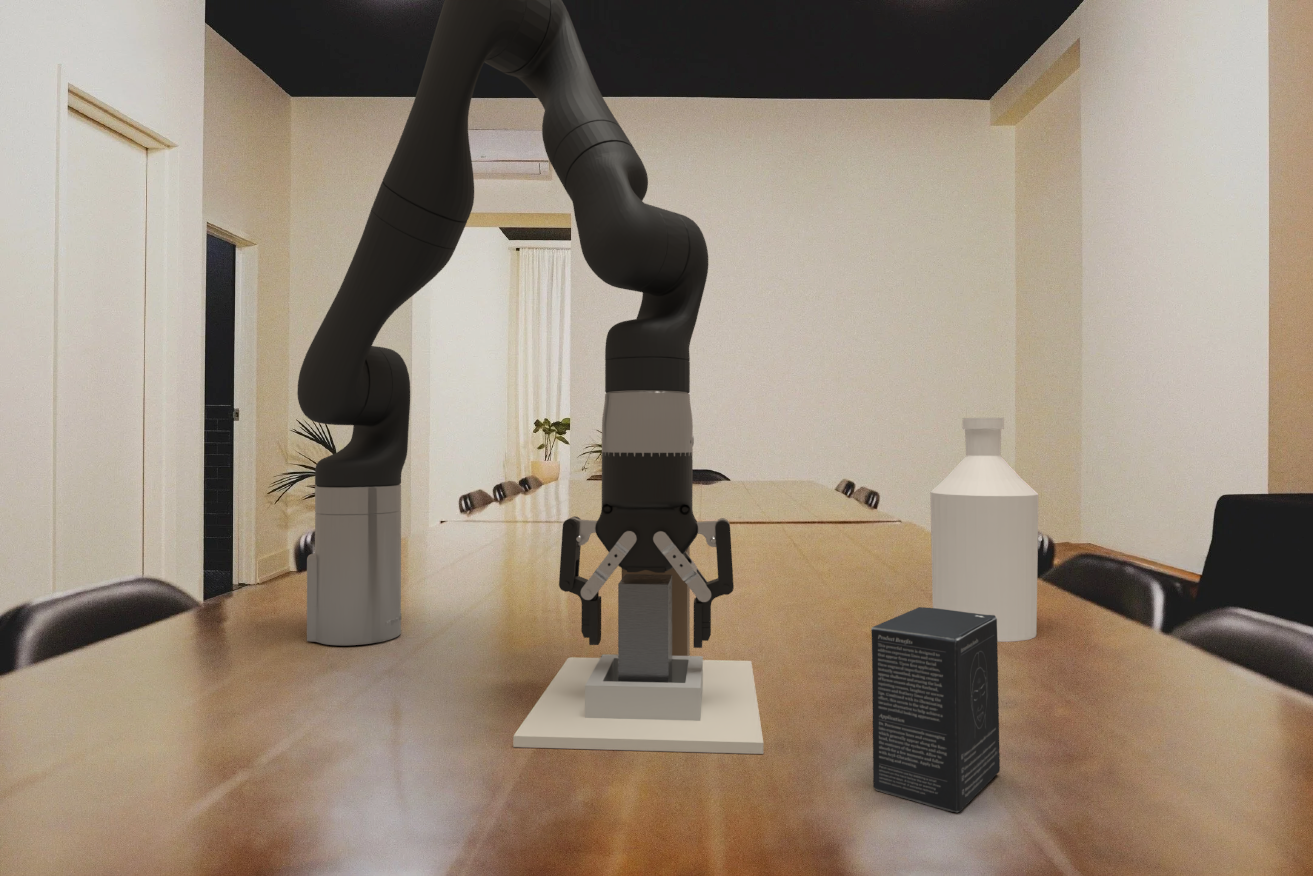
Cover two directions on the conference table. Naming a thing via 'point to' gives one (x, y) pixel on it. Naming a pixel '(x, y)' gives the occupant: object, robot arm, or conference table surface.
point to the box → (935, 706)
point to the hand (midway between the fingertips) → (646, 644)
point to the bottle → (986, 536)
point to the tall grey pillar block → (645, 628)
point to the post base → (650, 701)
